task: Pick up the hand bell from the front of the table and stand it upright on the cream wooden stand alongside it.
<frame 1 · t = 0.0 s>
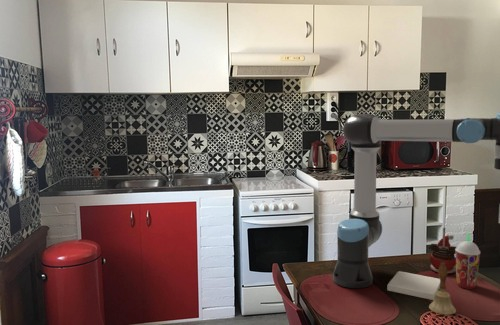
hand bell: (442, 309, 140), on the table
smoothie: (466, 286, 158), on the table
cake: (442, 271, 173), on the table
stand: (414, 287, 158), on the table
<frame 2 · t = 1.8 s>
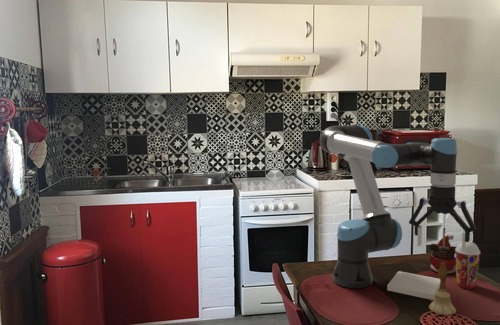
hand: (440, 248, 140), 20 cm above the table, tool pointing down, fingers open, 13 cm apart
nothing on the table moved.
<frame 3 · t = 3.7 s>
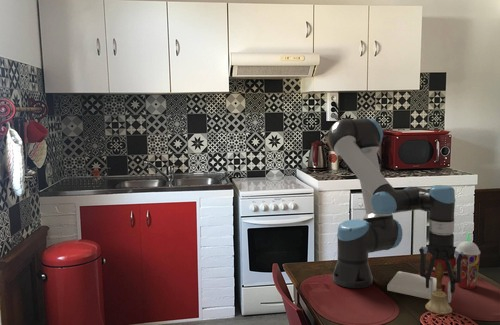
hand: (439, 299, 142), 2 cm above the table, tool pointing down, fingers closed on hand bell, 5 cm apart
hand bell: (438, 309, 141), on the table, touching gripper
everything else where it was.
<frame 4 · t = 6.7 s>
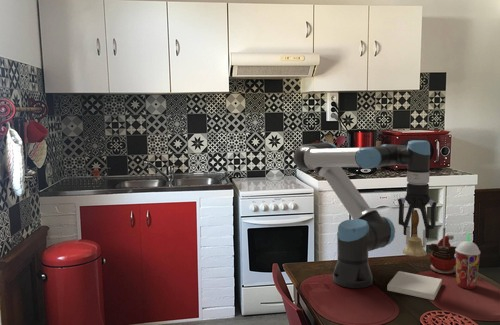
hand: (416, 244, 156), 16 cm above the table, tool pointing down, fingers closed on hand bell, 5 cm apart
hand bell: (414, 253, 154), point 14 cm above the table, touching gripper
everything else where it was.
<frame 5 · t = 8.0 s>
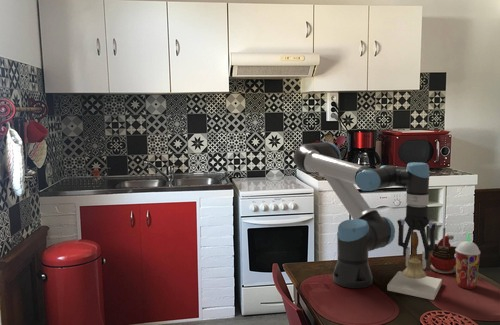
hand: (415, 266, 157), 8 cm above the table, tool pointing down, fingers closed on hand bell, 5 cm apart
hand bell: (414, 274, 155), point 6 cm above the table, touching gripper
everything else where it was.
when the fingers open (5 cm above the table, at t = 9.3 s): hand bell drops 1 cm, resting on stand.
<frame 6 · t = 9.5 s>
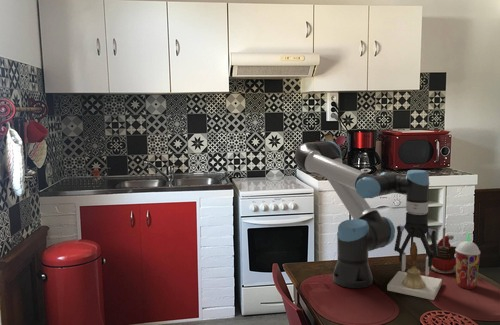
hand: (415, 272, 157), 6 cm above the table, tool pointing down, fingers open, 8 cm apart
hand bell: (413, 285, 155), point 2 cm above the table, touching stand
everything else where it was.
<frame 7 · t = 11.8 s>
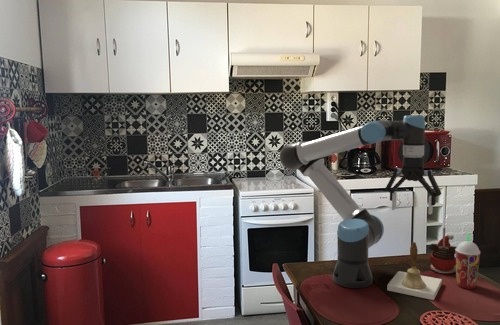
hand: (411, 211, 161), 27 cm above the table, tool pointing down, fingers open, 13 cm apart
nothing on the table moved.
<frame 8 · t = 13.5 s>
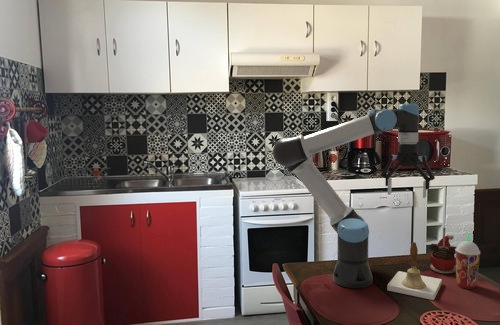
hand: (406, 195, 169), 32 cm above the table, tool pointing down, fingers open, 13 cm apart
nothing on the table moved.
at the end: hand bell inside the target area on the stand (2.6 cm from its centre), point 1.8 cm above the stand's base; hand bell tilted 0°; the gripper is holding nothing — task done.
